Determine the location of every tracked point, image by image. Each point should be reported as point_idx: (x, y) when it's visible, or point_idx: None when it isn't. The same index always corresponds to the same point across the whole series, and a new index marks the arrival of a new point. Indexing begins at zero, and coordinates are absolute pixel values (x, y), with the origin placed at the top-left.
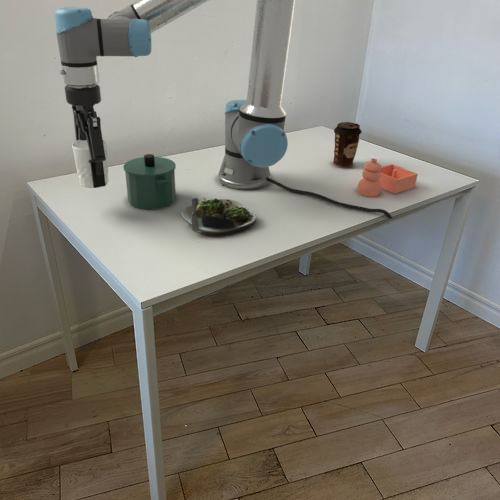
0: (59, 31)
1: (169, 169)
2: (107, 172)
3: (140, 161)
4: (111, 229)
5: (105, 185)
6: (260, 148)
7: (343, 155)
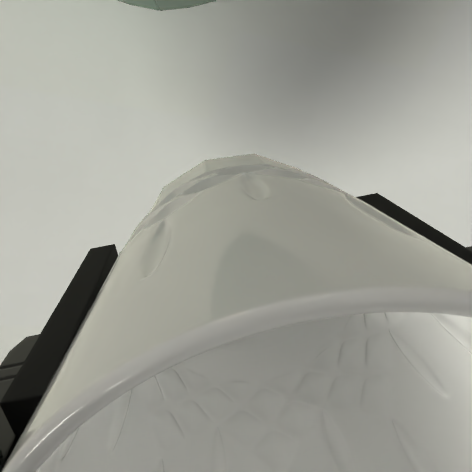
0: None
1: None
2: (311, 176)
3: None
4: (437, 159)
5: (379, 195)
6: None
7: None
